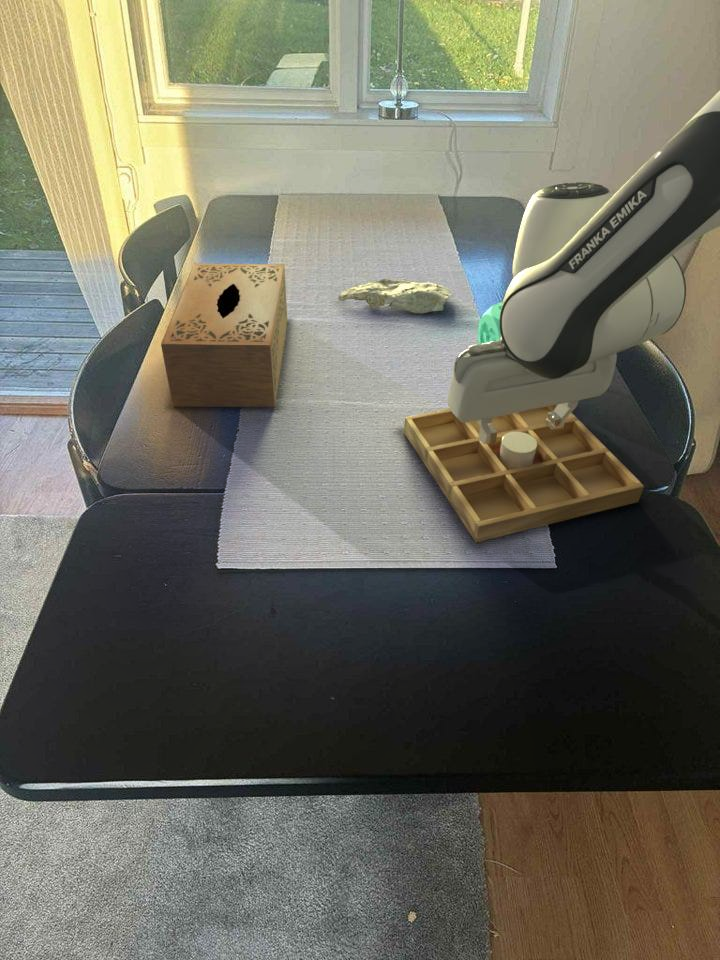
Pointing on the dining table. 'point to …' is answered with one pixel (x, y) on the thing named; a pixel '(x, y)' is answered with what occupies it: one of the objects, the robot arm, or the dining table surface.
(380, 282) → the rock
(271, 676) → the dining table surface
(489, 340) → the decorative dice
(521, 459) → the white cylinder
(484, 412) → the robot arm
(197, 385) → the tissue box cover
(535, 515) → the board
